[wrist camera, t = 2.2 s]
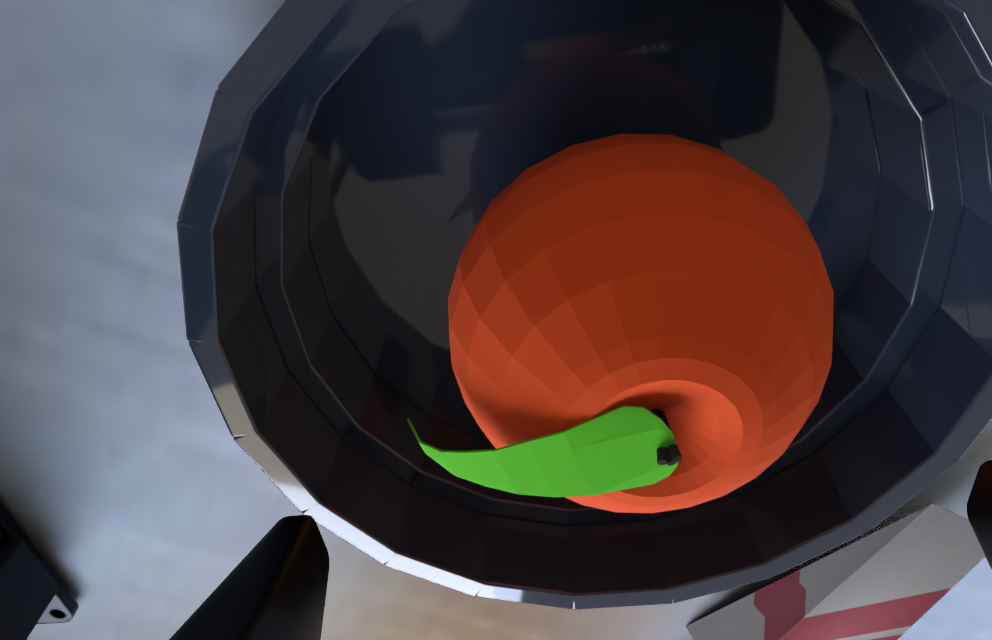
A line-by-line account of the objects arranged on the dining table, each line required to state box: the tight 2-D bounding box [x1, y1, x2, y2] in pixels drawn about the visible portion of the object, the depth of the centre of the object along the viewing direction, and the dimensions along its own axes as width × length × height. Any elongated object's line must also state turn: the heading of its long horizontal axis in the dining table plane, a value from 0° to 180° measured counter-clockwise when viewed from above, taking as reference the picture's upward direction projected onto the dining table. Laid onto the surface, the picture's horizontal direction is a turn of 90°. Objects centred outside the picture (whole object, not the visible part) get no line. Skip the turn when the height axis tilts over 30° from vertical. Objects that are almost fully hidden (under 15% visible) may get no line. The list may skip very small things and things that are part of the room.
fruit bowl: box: [177, 0, 992, 610], centre depth 14 cm, size 15×15×4 cm
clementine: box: [407, 134, 834, 513], centre depth 13 cm, size 8×7×7 cm
